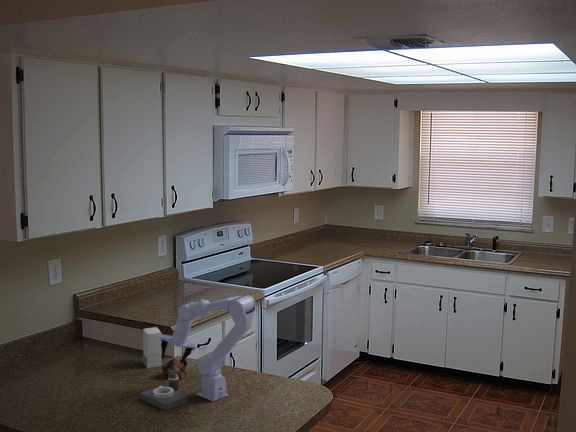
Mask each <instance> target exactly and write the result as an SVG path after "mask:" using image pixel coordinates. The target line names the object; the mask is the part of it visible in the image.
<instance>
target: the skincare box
mask: <svg viewBox="0 0 576 432" xmlns="http://www.w3.org/2000/svg"><path fill="white" fill-rule="evenodd" d="M142 332H143V334H142V338H143V339H142V342H143V343H142V345H143V346H142V347H143V349H142V350H143V352H142V355H143V357H142V358H143V359H142V360H143V361H142V362H143V364H144V366H145V367H146V368H147V369H151V368H158V367H162V359H161V358H162V348H161V342H162V341H159V339H160V336H161V335H162V332H161V331H160V329H159V328H158V327H157V326H155V327H147V328H143V329H142Z"/></svg>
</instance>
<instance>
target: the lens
mask: <svg viewBox="0 0 576 432" xmlns="http://www.w3.org/2000/svg"><path fill="white" fill-rule="evenodd" d="M167 375H168V377H167V379H168V387H170V388H173V390H174V391H176V392H177V391H178V390H179V389H180V384H179V382H180V381H179V380H180V373H178V372H170V373H168V374H167Z"/></svg>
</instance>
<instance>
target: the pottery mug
mask: <svg viewBox="0 0 576 432" xmlns="http://www.w3.org/2000/svg"><path fill="white" fill-rule="evenodd" d="M181 359H182V358H180V359H179V360H178V359H177V358H172V359H171V360H169V361H167V362H166V363H165V365H164V364H163V365H162V366H161V371H162V374H165V375H168V374H170V373H169V370H170V371H175V370H176V369H175V367H177V368H178V369H179V371H180V372H181V373H179V378H180V380H183V379H184V378H185V377H186V376H187V370H186V368H187V366H188V361H187V358H186V359H185V360H184V361H183V363H182V364H180V362H181Z"/></svg>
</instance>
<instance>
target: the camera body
mask: <svg viewBox="0 0 576 432" xmlns="http://www.w3.org/2000/svg"><path fill="white" fill-rule="evenodd" d="M139 397H140V400H142V401H144V402H146V403H148V404H150V405H152V406H155V407H157V408H159V409H161V410H163V411H168V410H171V409H174V408H177V407H179V405H180V406H182V405H184V404H188V396H186V395H185V394H182V393H181V392H177V390H176V391H174V390H173V388H170V387H169V386H164V385H158V386H157V387H153V388H151V389H147V390H144V391H141V392H139Z"/></svg>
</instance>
